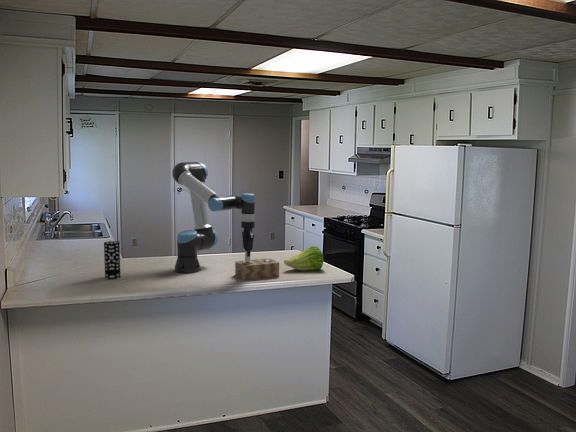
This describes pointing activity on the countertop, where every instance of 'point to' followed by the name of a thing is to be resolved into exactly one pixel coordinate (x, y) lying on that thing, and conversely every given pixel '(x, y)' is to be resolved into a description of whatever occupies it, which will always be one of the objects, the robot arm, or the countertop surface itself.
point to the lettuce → (306, 260)
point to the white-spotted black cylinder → (112, 259)
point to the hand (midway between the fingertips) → (247, 261)
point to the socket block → (257, 269)
